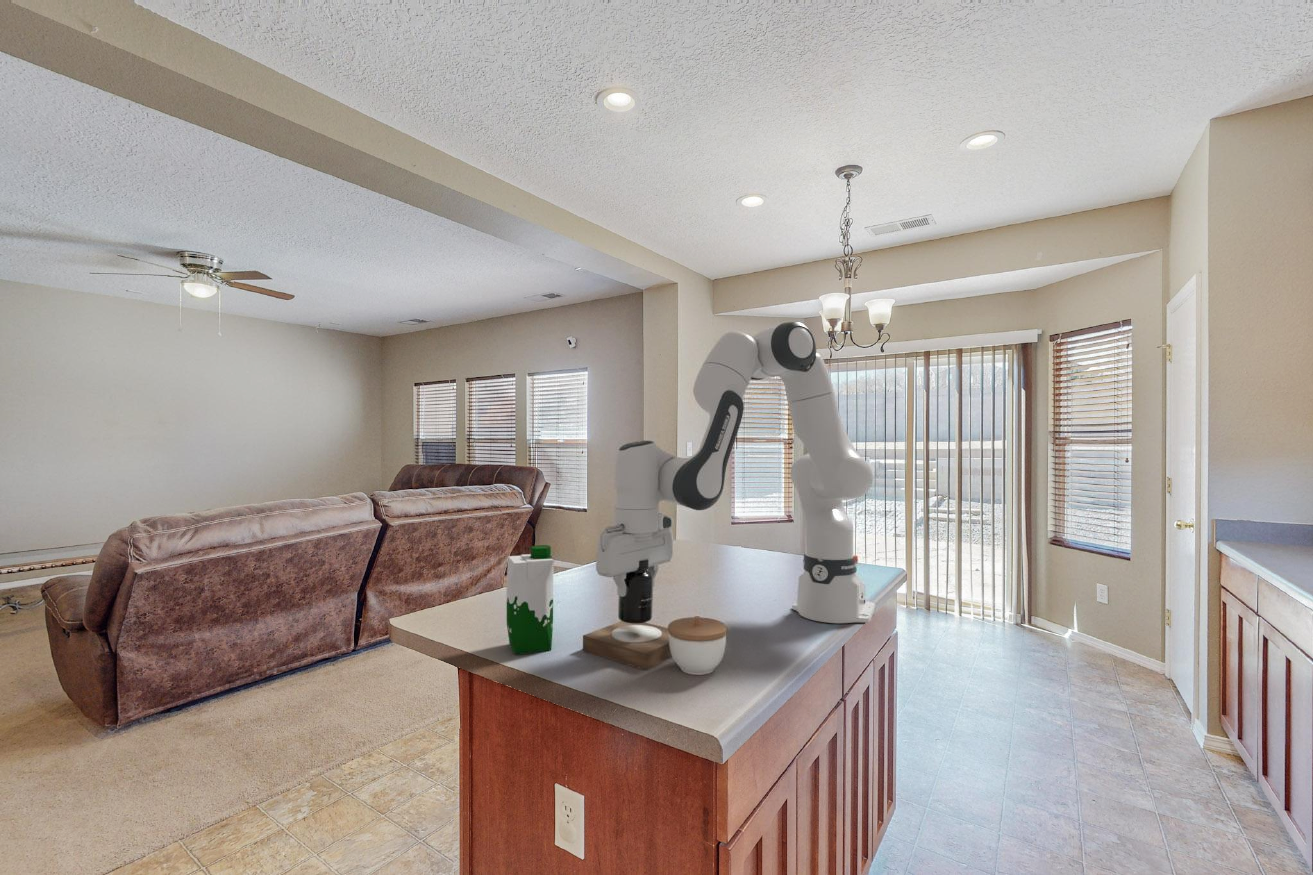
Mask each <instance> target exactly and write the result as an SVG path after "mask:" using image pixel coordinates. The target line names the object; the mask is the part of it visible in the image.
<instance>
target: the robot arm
mask: <svg viewBox="0 0 1313 875" xmlns="http://www.w3.org/2000/svg"><path fill="white" fill-rule="evenodd" d="M816 346H817V345H816V341H815V338H814V336H813V334H812V332H811V330H810V329H809V328H808V327H807V326H806V325H805V324H804V323H802V322H800V321H799V322H798V321H788V322H782V323H780V324H779V325H775V326H770V327H768V328H765V329H763V330H761V331H759V332H757V333H755V334H753V335H749V334H747V333H745V332H743V331H738V330H733V331H732V330H731V331H728V332H726V333H724V334H723V335H722V336H721V337H720V338H719V339H718V341H717V342H716V343H715V344H714V346H713V347H712V349H711V350H710V352H709V353H708V355H707V356H706V358H705V360H704V361H703V364H702V365H701V367H700V370H699V371H698V373H697V375H696V377H695V380H694V385H693V389H692V390H693V391H692V393H693V397H694V399H695V401H696V403H697V404H698V406H699V407H700V408H701V409H702V410H703V411H705V412H706V413H708V414H709V420H708V424H707V427H706V429H705V432H704V435H703V437H702V441H701V443H700V446H699V448H698V450H697V452H696V453H694V454H693V455H692V456H689V457H676V456H675V455H673V454H670V453H669V452H667V451H665V450H663V449H662V448H660V447H659V446H658V445H657V444H656V442H655V441H652V440H641V441H640V440H639V441H632V442H628V443H626V444H622V445H621V446H620V447H619V449H618V450H617V454H616V458H615V466H614V467H615V468H614V488H615V492H616V493H615V494H616V499H615V502H614V525H612V526H606V527H605V528H604V530H603V531H602V532H601V533H600V535H599V541H598V546H597V550H596V551H597V553H596V559H595V560H596V562H595V563H596V565H595V570H596V572H597V574H598V576H602V577H604V578H605V577H606V578H612V579H613V581H614V583H615V585H616V587H617V595H618V597H619V596H622V597H624V596H627V595H628V594H629V587H628V586H626V584H625V581H624V579H626V573H629V572H633V571H637V570H638V568H639V561H641V560H646V559H648V560H649V564H648V566H649V568H648V569H647V571H648V572H650V573H651V574H652V576H653V588H654V587H655V579H656V576H657V574H658V571H659V565H662V564H666V563H669V562H671V560H672V558H673V557H674V533H673V530H672V528H673V527H674V521H675V520H674V518H673V517H672V516H669V515H666V514H664V513H662V512H660V511H659V510H660V509H659V508H660V506H659V504H660V502H664V503H668V504H672V505H676V506H677V505H678V506H683V507H685V508H687V509H688V508H689V509H691V510H694V511H704V510H708V509H709V508H711V507H712V506H714V505H715V504H716V503H717V502H718V501H719V499H720V497H721V496H722V494H723V490H724V486H725V478H726V470H727V466H728V463H729V460H730V455H731V454H732V450H733V447H734V445H735V442H736V438H737V435H738V433H739V432H738V431H739V429H740V426H741V422H742V420H743V415H744V411H745V410H744V408H745V407H744V406H745V404H744V401H743V399H744V397H745V396H744V395H745V394H746V391H747V388H748V386H749V384H750V381H751V380H752V381H760V380H763V379H770V378H775V377H779V378H780V379H781V381H782V382H783V384H784V390H785V396H786V402H787V405H788V409H789V414H790V418H791V423H792V426H793V431H794V434H795V436H796V437H797V438H798V439H799V440H800V441H801V443H802V444H803V445H804V447H805V450H806V451H807V453H806V454H803V455H801V456H800V457H797V458H796V459H795V460H794V462H793V463H792V465H791V467H790V471H789V472H790V480H791V482H792V484H793V486H794V488H795V489H796V491H797V493H798V498H799V502H800V506H801V509H802V513H803V520H804V535H805V536H804V538H805V539H804V540H805V543H804V544H805V546H804V547H805V548H804V549H805V553H804V554H803V560H802V565H803V570H804V571H803V573H801V574H800V575H799V576H798V578H797V580H798V582H797V593H796V594H797V596H796V602H795V603H794V602H793V603H792V604H791V609H792V610H794V611H796V612H798V614H799V615H800V616H801V617H803V618H805V619H808V620H812V621H815V622H819V623H821V622H822V623H830V624H849V623H851V624H852V623H871V621H872V617H873V614H874V612H875V610H876V603H875V602H872V601H869V600H867V598H866V596H867V595H866V591H867V590H866V584H865V583H864V582H863V580H862V579H861V577H860V576H859V575H858V574H857V564H858V563H859V557H858V555H857V554H856V555H855V554H854V526H853V522H852V519H851V518H850V517H849V516H848V514H847V511H846V509H845V506H844V502H843V501H849V500H856V499H858V498H861V497H863V496H865V495H867V493H868V492H869V491H870V489H871V487H872V486H873V485H872V484H873V478H874V474H873V471H872V467H871V466H870V464H869V463H868V462H867V460H865V459H864V458H863V457H862V456H861V455H860V454H859V453H858V450H856V448H855V446H854V445H853V442H852V441H851V439H850V438H849V436H848V433H847V431H846V429H845V427H844V424H843V422H842V419H841V415H840V410H839V406H838V401H837V398H836V394H835V389H834V385H833V382H832V378H831V375H830V373H829V371H828V367H827V365H826V363H825V361H824V359H823V357H822V355H820V353H818V352H817V347H816Z"/></svg>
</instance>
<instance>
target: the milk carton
mask: <svg viewBox="0 0 1313 875" xmlns="http://www.w3.org/2000/svg"><path fill="white" fill-rule="evenodd" d="M551 547H552V546H550V545H547V544H546V545H545V544H544V545H543V544H541V545H540V544H539V545H531V547H530V553H529V554H528V553H527V554H520V555H511V556H509V555H508V557H507V568H506V628H507V636H508V642H509V646H510V648H511V649H512V651H513V654H514V655H515V656H518V655H517V654H519V655H526V654H532V653H540V652H547V651H552V648H553V647H552V646H553V644H552V643H553V631H554V630H553V628H554V570H555V569H554V567H555V566H554V565H555V563H554V562H555V560H554V558H553V557H552V551H551V550H552V549H551Z"/></svg>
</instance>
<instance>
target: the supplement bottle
mask: <svg viewBox="0 0 1313 875" xmlns="http://www.w3.org/2000/svg"><path fill="white" fill-rule="evenodd" d="M648 564H649V560H648V559H646V560H641V561H639V568H638V570H637V571H633V572H629V573H626V579H624V581H625V584H626V586H628V587H629V594H628V595H627V596H624V597H622V596H618V606H617V607H618V608H617V610H618V611H617V617H618V619H619V620H620V622H621V621H623V622H626V623H648V622H650V621H651V620H652V618H653V605H654V603H653V601H654V587H653V576H652V574H651V573H650V572H648V568H649V566H648Z"/></svg>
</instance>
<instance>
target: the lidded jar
mask: <svg viewBox="0 0 1313 875" xmlns="http://www.w3.org/2000/svg"><path fill="white" fill-rule="evenodd" d="M667 628H668V633H669V647H670V651H671V655H672V657H671V658H672V659H673V661H674V662H675V663H676V665H677V666H679V668H680V671H682V673H685V674H689V675H693V676H703V675H708V674H711V673H713V672H714V670H715V669H716V667H718V666H719V665H720V663H721V662H722V660H723V658H724V656H725V652H726V646H727V634H728V633H727V632H728V631H727V630H728V627H727V625H726V624H725V623H724V622H722V621H721V620H717V619H713V618H708V617H701V616H700V615H695V616H693V617H692V616H691V617H683V618H682V617H681V618H679V619H675V620H672V621H671V622H669V624H668V625H667Z"/></svg>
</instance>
